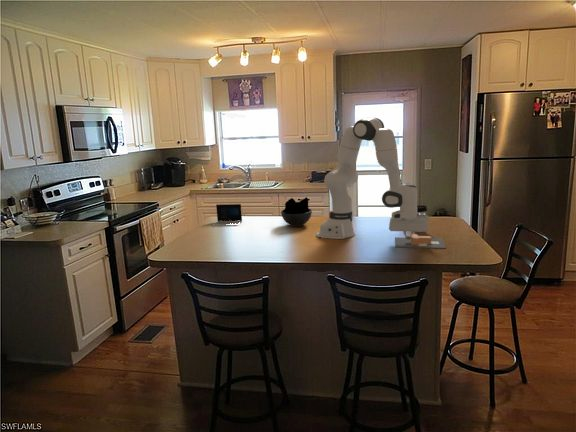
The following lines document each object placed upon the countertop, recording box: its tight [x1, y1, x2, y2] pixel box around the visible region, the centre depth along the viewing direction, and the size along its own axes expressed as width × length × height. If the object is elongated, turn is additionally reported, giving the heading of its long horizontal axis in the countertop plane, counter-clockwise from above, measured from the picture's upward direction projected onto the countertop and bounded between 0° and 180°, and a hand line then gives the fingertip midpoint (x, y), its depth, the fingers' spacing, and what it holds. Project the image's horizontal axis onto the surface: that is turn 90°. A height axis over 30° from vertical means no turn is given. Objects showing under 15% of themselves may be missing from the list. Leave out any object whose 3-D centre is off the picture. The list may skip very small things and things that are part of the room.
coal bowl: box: [280, 196, 313, 227], centre depth 275 cm, size 20×20×19 cm
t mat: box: [394, 236, 447, 250], centre depth 226 cm, size 25×18×1 cm
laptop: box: [211, 203, 243, 227], centre depth 290 cm, size 18×12×13 cm
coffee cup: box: [414, 204, 428, 233], centre depth 249 cm, size 8×8×15 cm
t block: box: [411, 233, 432, 245], centre depth 225 cm, size 10×11×3 cm
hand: (408, 239), depth 227 cm, fingers closed
